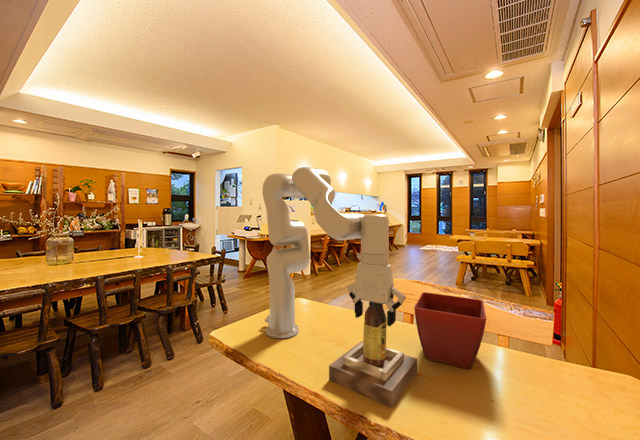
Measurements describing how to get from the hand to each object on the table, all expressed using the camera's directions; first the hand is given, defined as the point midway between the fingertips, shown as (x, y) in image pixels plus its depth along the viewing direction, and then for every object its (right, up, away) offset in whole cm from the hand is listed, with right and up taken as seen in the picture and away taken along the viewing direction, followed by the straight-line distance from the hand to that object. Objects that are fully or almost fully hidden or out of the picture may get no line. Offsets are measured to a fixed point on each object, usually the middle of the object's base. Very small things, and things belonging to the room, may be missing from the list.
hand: (374, 320), depth 77 cm
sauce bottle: (0, -12, 0) cm, 12 cm away
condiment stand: (0, -16, 0) cm, 16 cm away
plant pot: (+26, -16, +12) cm, 33 cm away
